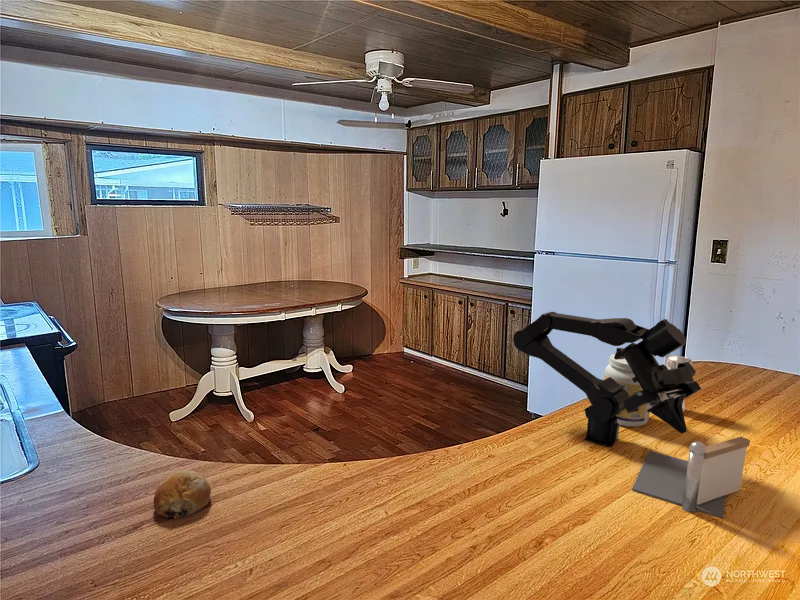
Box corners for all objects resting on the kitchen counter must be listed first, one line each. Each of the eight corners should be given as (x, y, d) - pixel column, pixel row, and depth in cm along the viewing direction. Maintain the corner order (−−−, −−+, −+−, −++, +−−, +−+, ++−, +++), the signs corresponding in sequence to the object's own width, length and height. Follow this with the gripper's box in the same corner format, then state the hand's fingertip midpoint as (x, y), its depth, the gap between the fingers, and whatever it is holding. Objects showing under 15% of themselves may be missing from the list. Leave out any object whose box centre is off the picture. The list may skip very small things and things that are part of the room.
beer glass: (689, 415, 144) (697, 363, 141) (662, 413, 146) (669, 361, 143) (681, 405, 151) (688, 356, 148) (656, 403, 152) (662, 354, 149)
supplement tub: (610, 405, 150) (617, 349, 147) (655, 418, 142) (662, 359, 138) (592, 417, 141) (598, 358, 138) (638, 432, 133) (646, 369, 130)
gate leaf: (698, 505, 100) (706, 453, 98) (690, 500, 102) (697, 449, 100) (741, 490, 106) (750, 440, 104) (733, 485, 108) (741, 436, 105)
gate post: (690, 514, 99) (700, 446, 96) (677, 506, 101) (686, 440, 98) (700, 511, 100) (710, 443, 97) (686, 503, 102) (696, 437, 100)
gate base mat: (631, 490, 107) (632, 488, 106) (648, 452, 123) (649, 450, 123) (723, 518, 98) (723, 516, 98) (728, 473, 114) (728, 471, 114)
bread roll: (216, 517, 101) (226, 474, 103) (181, 525, 91) (192, 477, 93) (175, 506, 104) (185, 465, 106) (136, 512, 95) (148, 467, 96)
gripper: (641, 355, 108) (684, 426, 100) (698, 345, 116) (742, 410, 109) (607, 379, 116) (644, 446, 109) (662, 368, 125) (700, 430, 117)
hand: (684, 432), depth 111 cm, fingers closed
